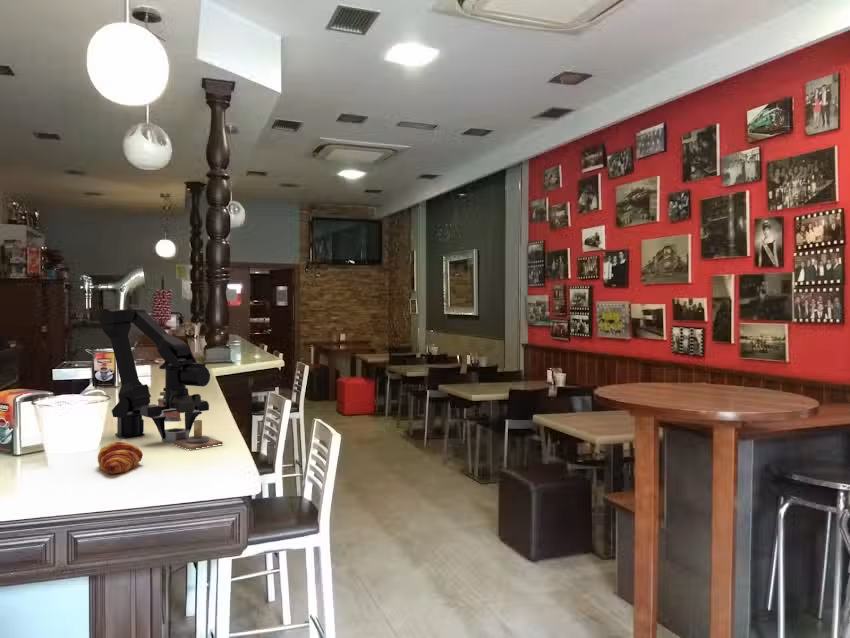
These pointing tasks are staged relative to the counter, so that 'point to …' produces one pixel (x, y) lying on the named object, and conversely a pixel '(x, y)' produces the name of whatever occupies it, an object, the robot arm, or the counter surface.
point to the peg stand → (197, 439)
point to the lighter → (169, 415)
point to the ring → (175, 435)
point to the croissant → (119, 457)
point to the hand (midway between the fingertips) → (175, 437)
